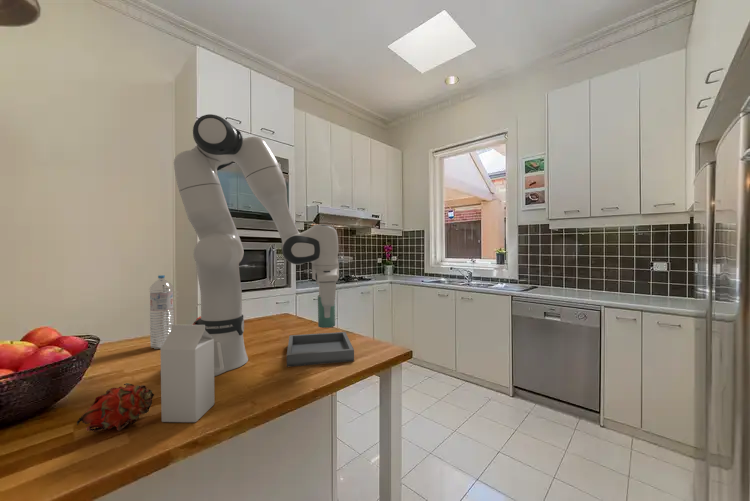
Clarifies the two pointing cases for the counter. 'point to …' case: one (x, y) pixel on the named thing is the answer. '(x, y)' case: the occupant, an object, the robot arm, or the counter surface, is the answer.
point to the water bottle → (161, 311)
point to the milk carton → (187, 374)
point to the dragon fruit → (117, 407)
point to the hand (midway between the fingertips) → (326, 314)
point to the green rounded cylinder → (322, 320)
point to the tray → (319, 349)
